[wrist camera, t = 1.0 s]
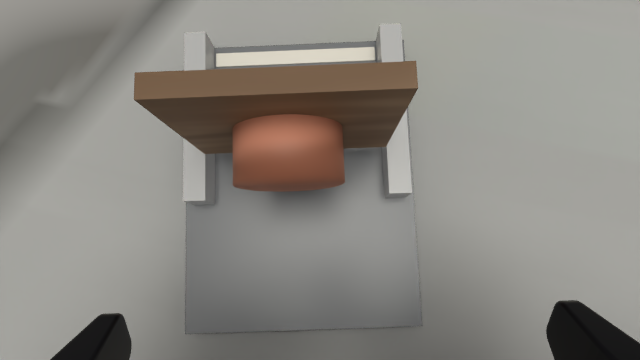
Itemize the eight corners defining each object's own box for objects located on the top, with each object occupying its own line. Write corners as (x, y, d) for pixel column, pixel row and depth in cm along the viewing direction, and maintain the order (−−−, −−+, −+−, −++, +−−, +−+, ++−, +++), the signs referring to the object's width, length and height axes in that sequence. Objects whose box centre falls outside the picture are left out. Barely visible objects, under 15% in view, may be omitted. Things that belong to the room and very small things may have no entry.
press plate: (388, 192, 20) (423, 158, 13) (204, 199, 20) (132, 169, 13) (384, 129, 21) (415, 61, 13) (204, 136, 21) (134, 72, 13)
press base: (417, 322, 23) (430, 332, 20) (192, 329, 23) (172, 341, 20) (399, 50, 25) (409, 22, 22) (194, 58, 25) (175, 32, 22)
